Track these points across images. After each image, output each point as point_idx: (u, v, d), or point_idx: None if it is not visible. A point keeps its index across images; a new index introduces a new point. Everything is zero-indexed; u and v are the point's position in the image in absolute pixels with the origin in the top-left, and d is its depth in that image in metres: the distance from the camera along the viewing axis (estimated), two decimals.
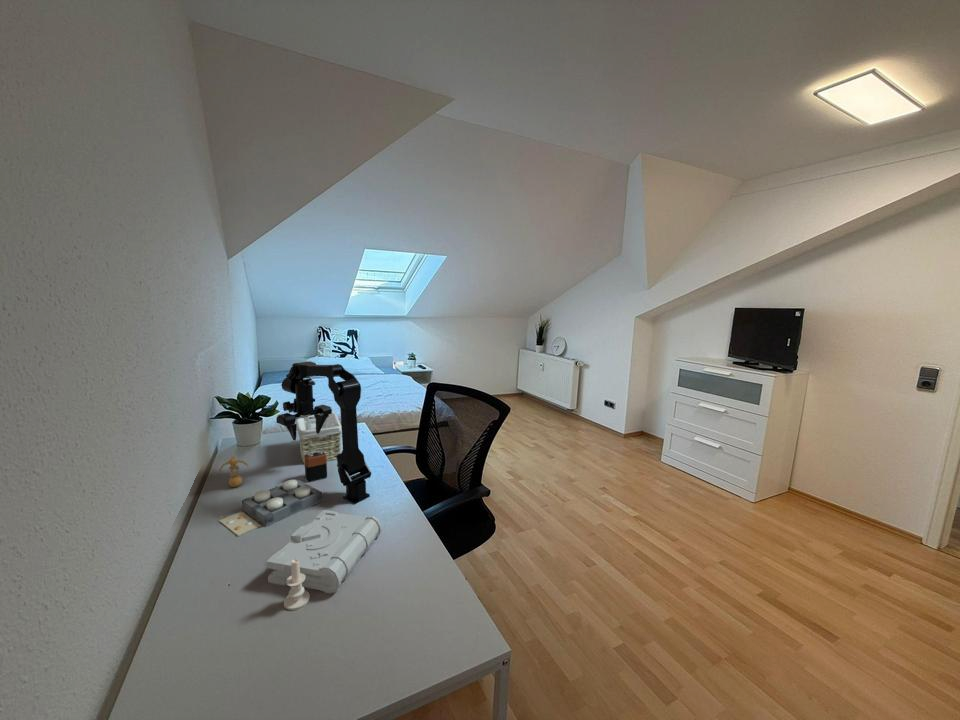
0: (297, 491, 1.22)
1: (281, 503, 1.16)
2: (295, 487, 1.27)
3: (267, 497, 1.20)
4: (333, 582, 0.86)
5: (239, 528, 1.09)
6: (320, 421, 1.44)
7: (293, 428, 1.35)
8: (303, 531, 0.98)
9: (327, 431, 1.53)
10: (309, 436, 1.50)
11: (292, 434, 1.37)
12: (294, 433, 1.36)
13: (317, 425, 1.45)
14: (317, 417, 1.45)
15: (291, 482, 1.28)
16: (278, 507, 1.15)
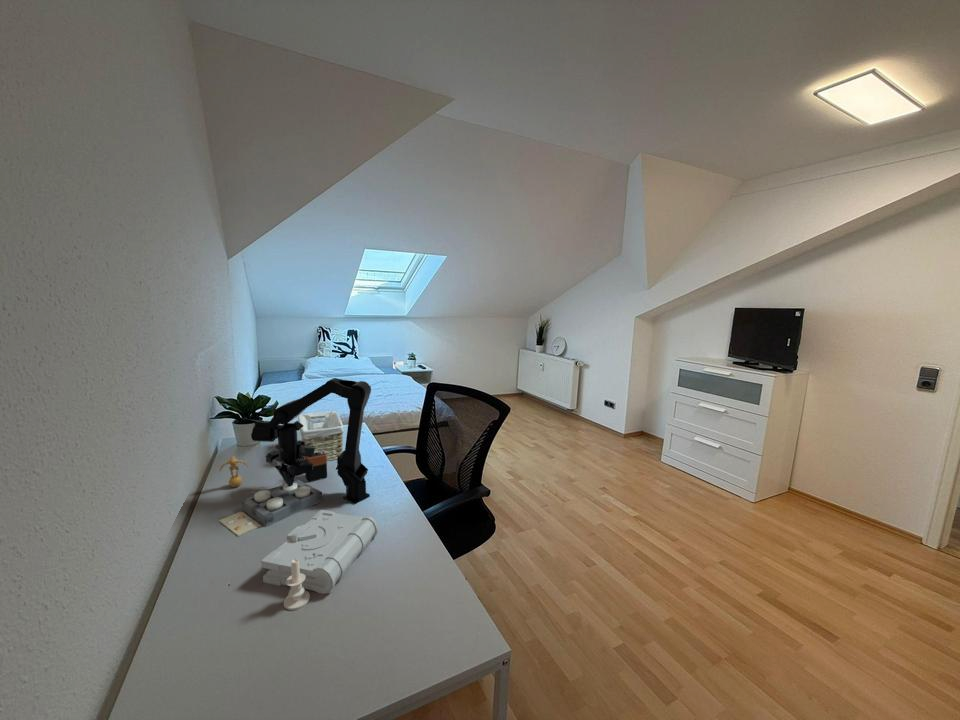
0: (297, 491, 1.22)
1: (281, 503, 1.16)
2: None
3: (267, 497, 1.20)
4: (327, 583, 0.86)
5: (239, 528, 1.09)
6: None
7: (279, 471, 1.26)
8: (299, 531, 0.98)
9: (329, 431, 1.53)
10: (312, 436, 1.50)
11: None
12: (283, 478, 1.27)
13: None
14: None
15: None
16: (278, 507, 1.15)
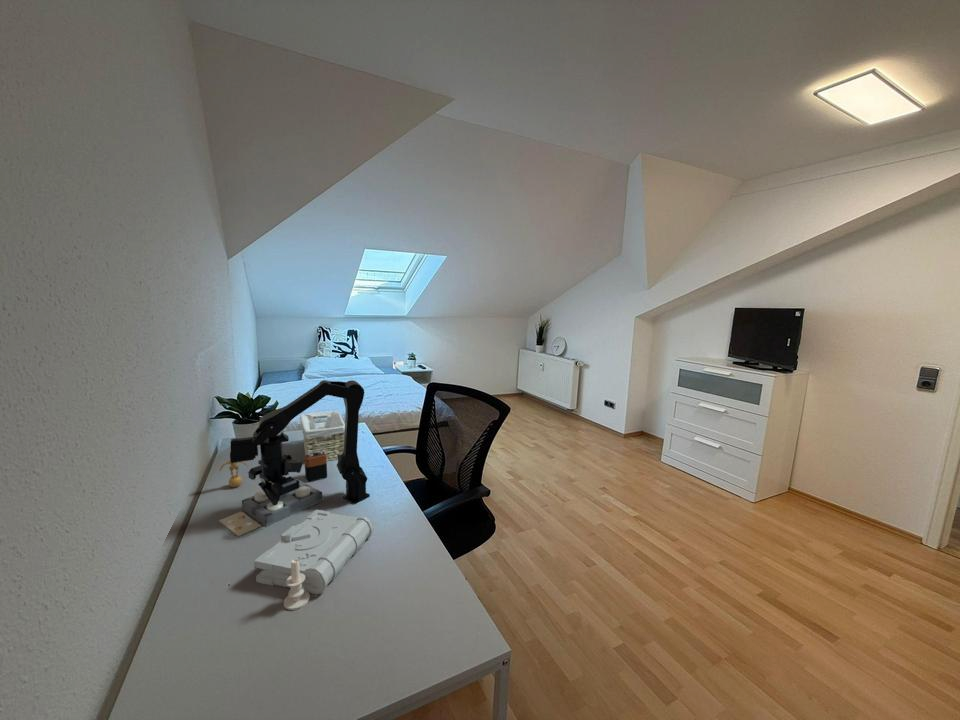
0: (297, 491, 1.22)
1: (281, 507, 1.16)
2: None
3: (267, 497, 1.20)
4: (319, 583, 0.86)
5: (239, 528, 1.09)
6: None
7: (262, 489, 1.15)
8: (293, 531, 0.98)
9: (332, 431, 1.53)
10: (314, 436, 1.51)
11: None
12: (267, 496, 1.15)
13: None
14: None
15: None
16: None
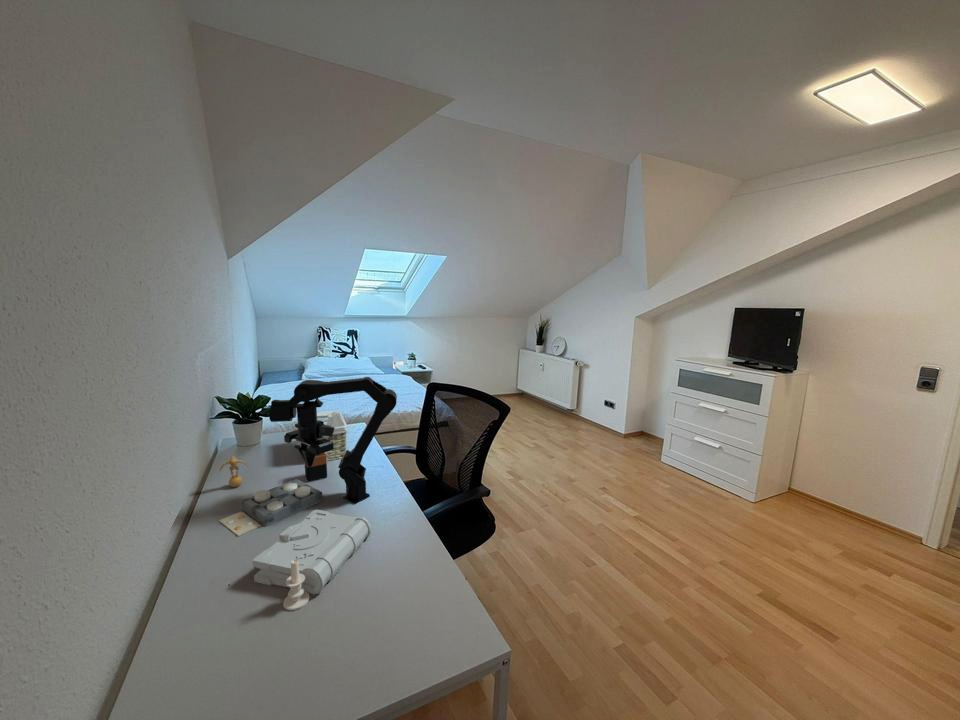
0: (297, 491, 1.22)
1: (281, 507, 1.16)
2: None
3: (267, 497, 1.20)
4: (317, 583, 0.86)
5: (239, 528, 1.09)
6: None
7: (298, 451, 1.22)
8: (291, 530, 0.98)
9: None
10: None
11: None
12: None
13: None
14: None
15: (291, 485, 1.28)
16: None
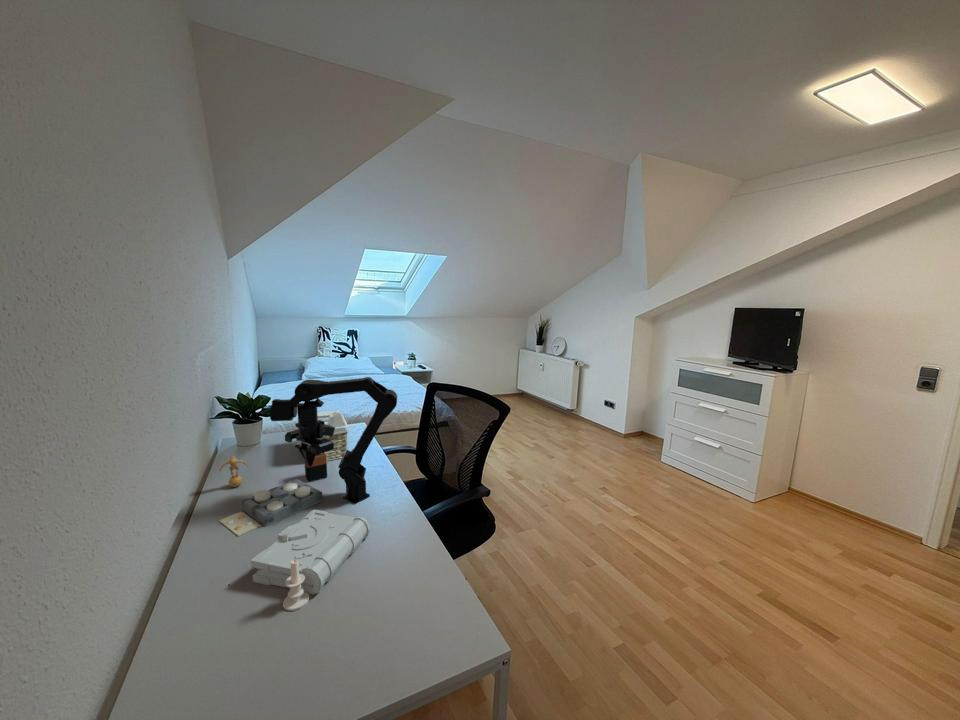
0: (297, 491, 1.22)
1: (281, 507, 1.16)
2: None
3: (267, 497, 1.20)
4: (315, 583, 0.86)
5: (239, 528, 1.09)
6: None
7: None
8: (290, 531, 0.98)
9: (334, 430, 1.54)
10: None
11: None
12: (303, 457, 1.23)
13: None
14: None
15: (291, 485, 1.28)
16: None
